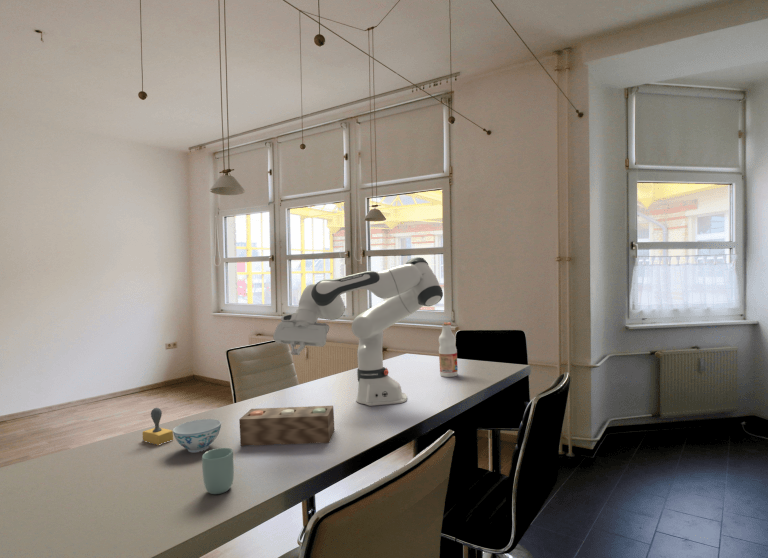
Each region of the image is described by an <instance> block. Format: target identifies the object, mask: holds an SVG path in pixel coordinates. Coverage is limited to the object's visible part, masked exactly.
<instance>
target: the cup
mask: <svg viewBox="0 0 768 558" xmlns="http://www.w3.org/2000/svg"><path fill="white" fill-rule="evenodd" d="M234 464H235V463H234V451H233V449H232V448H228V447H220V448H213V449H210V450H207V451H205V452H204V453H203V454H202V456H201V468H202V469H201V470H202V472H201V473H202V479H203V484H204V488H205V490H206V492H207V493H209V494H211V495H221V494H224V493H225V492H228V491H229V490H230V489H231V487H232V485H233V482H234V478H235V477H234V476H235V467H234V466H235V465H234Z"/></svg>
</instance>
